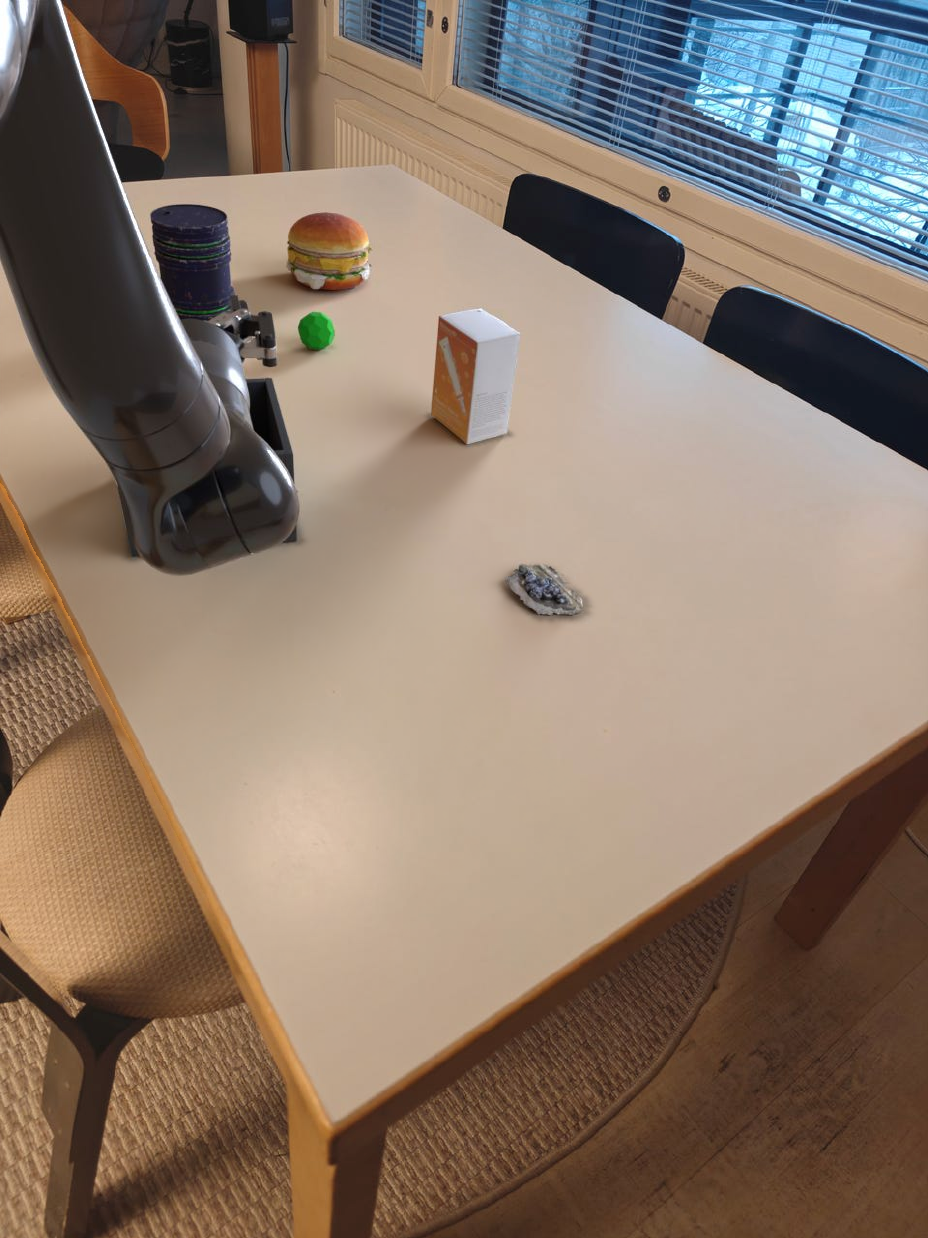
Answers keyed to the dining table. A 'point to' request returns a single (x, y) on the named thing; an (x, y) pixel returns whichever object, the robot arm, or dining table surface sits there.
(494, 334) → the small box
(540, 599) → the grey flat lumpy piece
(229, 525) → the robot arm
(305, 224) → the burger
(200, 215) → the navy striped cylinder
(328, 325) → the polyhedron
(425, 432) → the dining table surface
